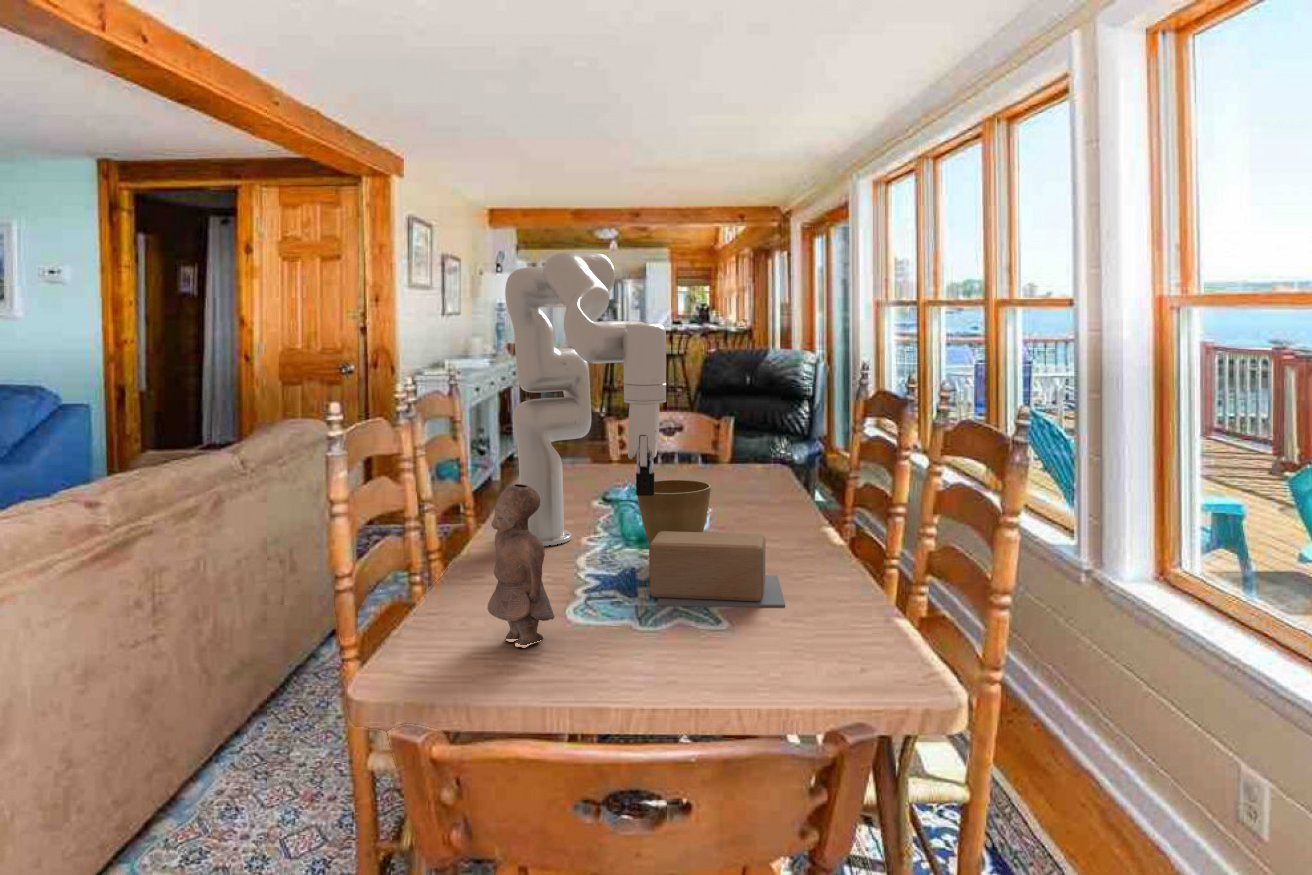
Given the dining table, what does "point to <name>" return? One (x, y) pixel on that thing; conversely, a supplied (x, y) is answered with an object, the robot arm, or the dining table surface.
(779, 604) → the mat
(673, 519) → the plant pot
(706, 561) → the block
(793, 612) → the dining table surface
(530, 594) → the clay figurine
